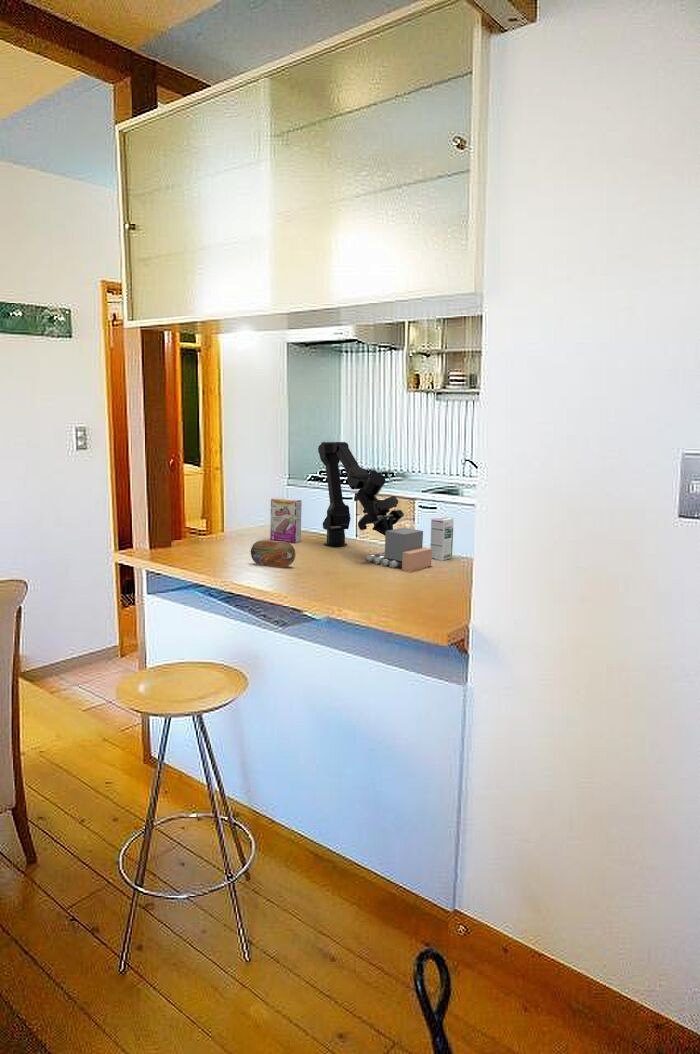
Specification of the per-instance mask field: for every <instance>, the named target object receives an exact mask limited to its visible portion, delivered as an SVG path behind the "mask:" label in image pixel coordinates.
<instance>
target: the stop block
mask: <svg viewBox="0 0 700 1054" xmlns="http://www.w3.org/2000/svg"><path fill="white" fill-rule="evenodd" d="M432 560H433V558H432V549H431V548H430V547H422V548H420V549H415V550H410V551H406V552H403V557H402V566H401V570H402V571H405V572H408V573H411V572H414V570H415V571H417V570H418V569H419V570H422V569H426V568H429V567H428V566H430V567H432ZM425 567H426V568H425ZM421 568H422V569H421Z"/></svg>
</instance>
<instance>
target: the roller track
mask: <svg viewBox="0 0 700 1054" xmlns="http://www.w3.org/2000/svg"><path fill="white" fill-rule="evenodd" d="M364 559H365V560H364V561H365V562H366V563H368V562H369V563H372V561H373V564H374V565H379V563H380V564H381V566H382V565H383V567H386V566H389V567H390V568H391V567H392V568H391V569H394V568H397V567H402V561H399V560H394V559H389V558H385V551H383V552H378V553H373V554H368V555H365V558H364Z"/></svg>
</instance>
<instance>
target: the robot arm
mask: <svg viewBox="0 0 700 1054" xmlns="http://www.w3.org/2000/svg"><path fill="white" fill-rule="evenodd" d="M317 448H318V449H317V452H318V455H319V459H320V461H321V462H322V464H323V465H324V467H325V472H326V480H327V489H328V497H329V506H328V508H327V510H326V517H325V518H324V521H323V522H322V528H323V529H324V530H326V542H324V543H323V545H325V546H328V545H329V546H328V547H333V548H338V547H344V546H347V545H348V543H346V533H345V531H346V530H349V527H350V524H351V523H350V522H351V520H352V519H351V513H350V506H349V505H347V504H345V502H344V498H343V490H342V485H341V475H340V467H339V466H340V465H339V464H340V463H341V465H342V466H343V469H344V470H345V472H346V474H347V478H346V480H347V483H348V486H349V488H350V489H351V490H358V491H357V492H355V493H354V498H353V501H354V502H359V503H360V504H361V506H362V508H363V510H362V512H363V514H364V515H363V516H362V517H361V518H360V519H359V520H358V521H357V527H358V529H359V530H360V531H364V530H365V531H366V530H367V527H368V526H367V525H372V524H373V527H372V528H371V530H372V531H375V532H376V533H377V532H378V533H379V534H381V535H383V536H384V537H385V534H386V531H388V530H394V525H396V524H397V523H398V522H399V521H400V520H401V519H402V518H403V517H404V515H405V514H404V512H403V511H402V509H393V508H397V507H398V505H399V499H398V498H397V497H396V496H395V495H393V496H391V495H390V497H387V498H384V499H378V498H377V496H376V495H378V494H379V493H380V491H381V490H382V488H383V487H384V485H385V484H386V478H385V477H384V476H383V475H382V474H380V473H378V471H377V470H375V469H374V470H370V471H369V472H368V471H367V470H366V469H365V468H363V467H361V466H360V465H359V463H358V462H357V459H356V458H355V456H354V455H353V453H352V451H351V450H350V448H349V444H348V443H347V442H345V441H322V442H321V443H320V444H319V446H318V447H317ZM390 509H393V510H390Z"/></svg>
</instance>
